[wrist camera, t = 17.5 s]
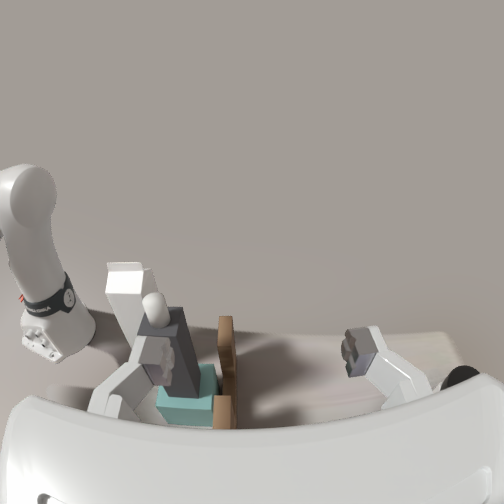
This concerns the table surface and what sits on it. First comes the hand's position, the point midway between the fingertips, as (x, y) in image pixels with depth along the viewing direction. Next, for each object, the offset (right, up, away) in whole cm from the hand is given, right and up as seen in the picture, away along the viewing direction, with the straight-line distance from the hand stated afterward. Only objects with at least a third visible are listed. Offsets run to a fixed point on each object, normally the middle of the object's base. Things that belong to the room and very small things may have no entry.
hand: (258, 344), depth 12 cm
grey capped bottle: (-10, -15, +23) cm, 29 cm away
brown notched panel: (-4, -21, +27) cm, 34 cm away
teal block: (-10, -21, +27) cm, 36 cm away
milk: (-18, -16, +35) cm, 43 cm away
